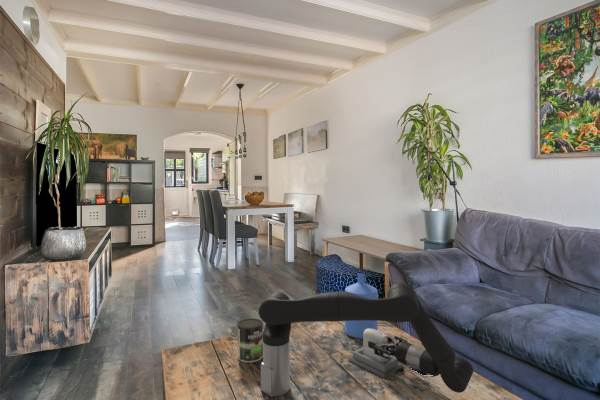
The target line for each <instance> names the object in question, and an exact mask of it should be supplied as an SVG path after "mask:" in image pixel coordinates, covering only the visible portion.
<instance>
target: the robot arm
mask: <svg viewBox="0 0 600 400" xmlns="http://www.w3.org/2000/svg"><path fill="white" fill-rule="evenodd" d="M258 315H259V318H260V320H261V321H262V322H264V323H265V326H264V329H263V331H262V338H263V357H262V362H261V363H260V390H261V391H262V392H263V393H264V394H266V395H267V396H269V397H270V398H274V397H281V396H284V395H286V394H288V392H289V391H290V389H291V387H290V386H291V385H290V384H291V382H290V381H291V377H290V376H291V375H290V363H291V362H290V360H291V359H290V358H291V357H290V350H291V349H290V335H291V329H292V324H293V323H308V322H309V323H311V322H313V323H314V322H315V323H318V322H320V323H321V322H331V323H332V322H345V321H362V320H376V321H378V322H379V321H380V322H392V323H406V322H407V323H408V322H409V323H410V325H411V326H412V328H413V329H414V331H415V333H416V335H417V337H418V339H419V341H420V343H421V345H422V347H421V346H419V345H416V344H414V343H411V342H409V340H406V339H404V338H402V337H399V336H397V335H395V336H394V337H393V336H388V335H386V336H387V339H388V344H382V345H379V344H376V343H373V342H371V341H369V342H368V347H369V348H372V349H374V354H376V355H378V356H381V357H383V358H386V359H389V356H390V355H391V356H394V357H396V359H397V360H398V362H399V363H401V364H402V365H403V364H404V365H406V366H408V367H409V368H410V367H412V368H415V369H418V370H421V371H424V372H426V373H428V374H431V375H433V376H432V377H438V376H440V377H441V379H442V381H443V383H444V385H445V386H446V387H447V388H448V389H450V390H451V391H452V392H455V393H463V392H465V391H466V389H467V387H468V386H469V382H470V380H471V378H472V376H473V374H474V366H473V365H472V364H471V362H470V361H469V360H467V359H466V358H463V357H461V356H457V355H456V352H455V351H454V350H455V349H453V348H452V346H451V345H450V344H449V342H448V341H447V339H446V338H445V337H444V336H443V335H442V333H441V332H440V331H439V329H438V328H437V327H436V325H435V324H434V323H433V320H432V319H431V318H430V317H429V315H428V313H427V312H426V310H425V309H424V307H423V305H422V303H421V301H420V299H419V297H418V296H417V293H416V291H415V289H414V288H413V287H412V286H410V285H409V284H407V283H404V282H397V283H394V284H392V285H391V286H390V287H389V289H388V291H387V295H386V298H378V299H368V298H364V297H361V296H358V295H355V294H352V293H349V292H345V291H328V292H321V293H317V294H314V295H311V296H308V297H303V298H298V299H290V298H289V296H288V295H287V294H286V293H284V292H282V291H275V292H272V293H270V295H268V296H267V297H266V298H265V299H264V300H263V301H262V302H261V303H260V305H259V307H258ZM379 347H382V348H379ZM384 347H386V350H384ZM423 347H424V348H423Z"/></svg>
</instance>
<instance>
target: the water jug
mask: <svg viewBox="0 0 600 400" xmlns="http://www.w3.org/2000/svg"><path fill="white" fill-rule="evenodd" d="M365 276H366V274H365V273H358V274H357V282H356V283H353V284H350V285H348V286H346V287H345V289H344V292H349V293H352V294H355V295H358V296H361V297H364V298H368V299H379V292H378V289H377V288H376V287H374V286H372V285H370V284H368V283H366V281H365V278H366V277H365ZM378 322H379V321H376V320H362V321H344V329H343V330H344V332H345V334H346V336H349V337H351V338H354V339H360V340H363V333H364V330H365V329H375V330H378V331H379V328H378V324H379V323H378Z"/></svg>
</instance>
